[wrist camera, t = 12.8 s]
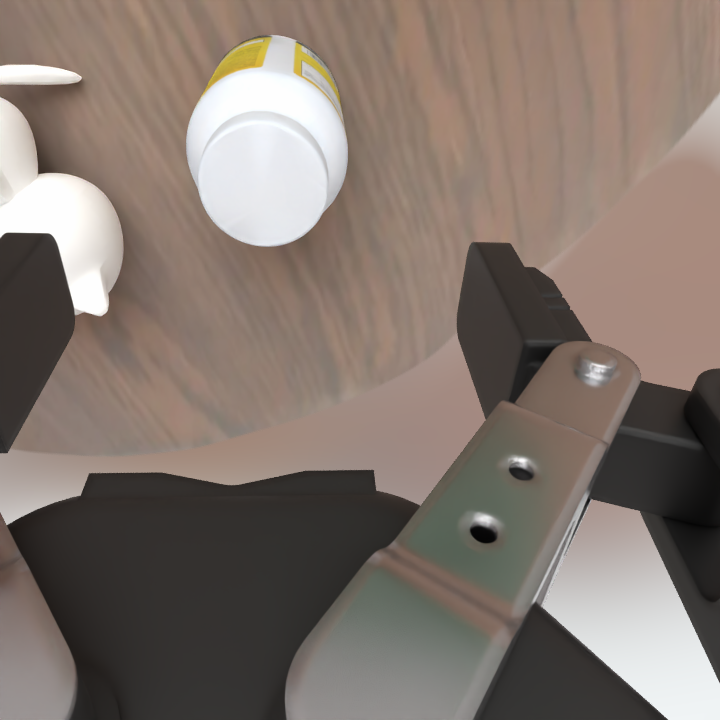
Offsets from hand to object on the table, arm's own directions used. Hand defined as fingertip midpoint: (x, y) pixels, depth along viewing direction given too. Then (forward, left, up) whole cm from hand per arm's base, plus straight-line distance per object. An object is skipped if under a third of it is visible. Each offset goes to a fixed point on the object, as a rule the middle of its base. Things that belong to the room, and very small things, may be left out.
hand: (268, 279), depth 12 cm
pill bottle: (-1, -2, -22) cm, 22 cm away
